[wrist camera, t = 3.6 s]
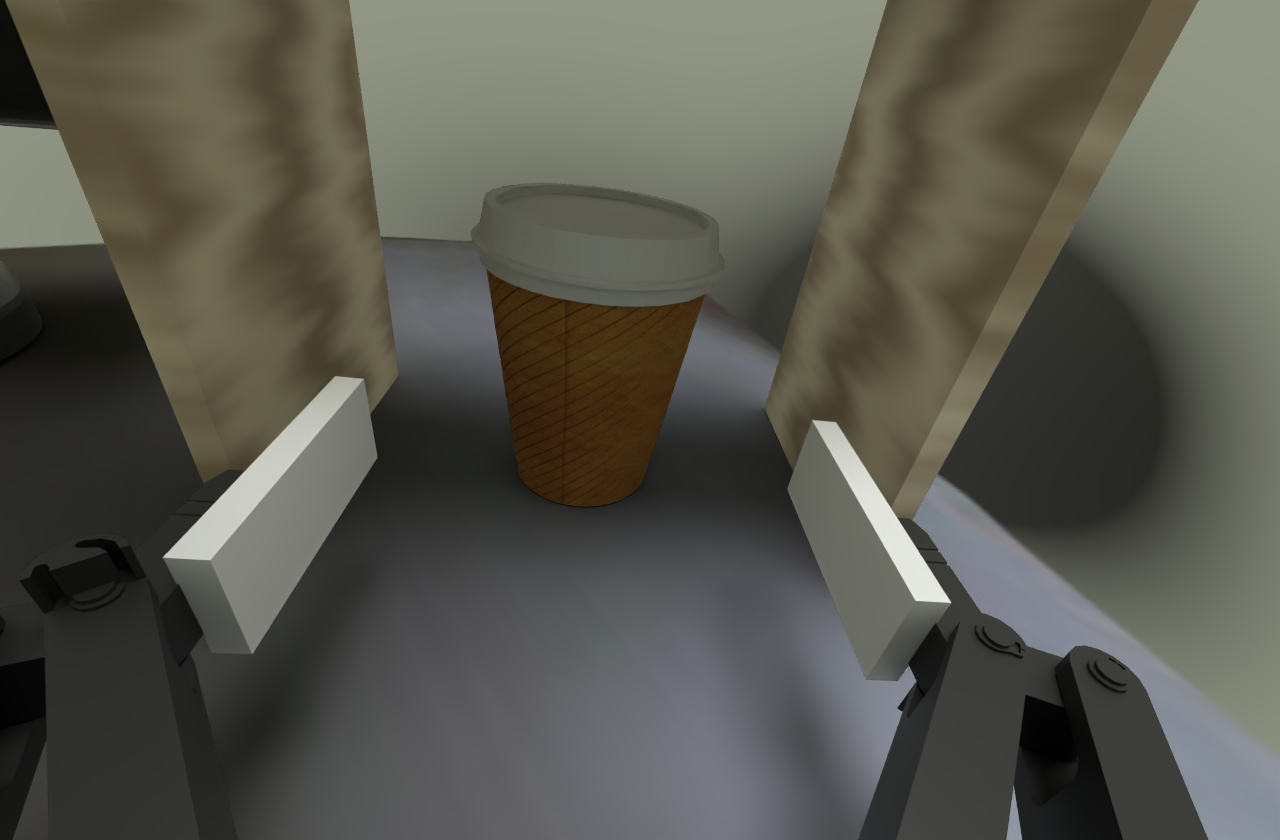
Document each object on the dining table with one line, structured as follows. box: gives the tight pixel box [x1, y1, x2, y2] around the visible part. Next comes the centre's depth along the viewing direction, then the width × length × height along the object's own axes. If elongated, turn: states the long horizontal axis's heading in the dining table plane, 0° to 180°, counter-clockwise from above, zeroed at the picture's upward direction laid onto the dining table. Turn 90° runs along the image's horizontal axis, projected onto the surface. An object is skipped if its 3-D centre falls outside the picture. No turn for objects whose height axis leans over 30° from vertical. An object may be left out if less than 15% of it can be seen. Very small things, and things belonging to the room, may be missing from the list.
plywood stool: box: [5, 0, 1199, 520], centre depth 20 cm, size 14×24×24 cm, turn 92°
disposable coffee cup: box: [471, 183, 725, 507], centre depth 23 cm, size 10×10×12 cm
